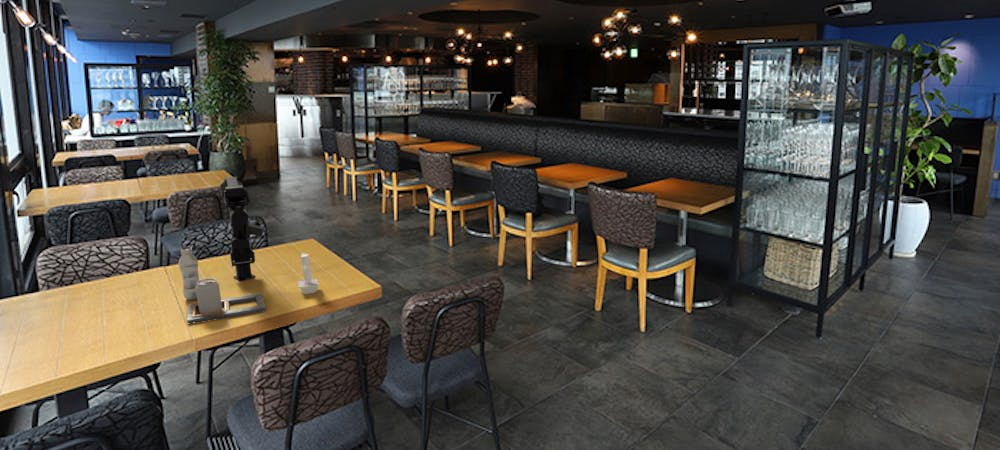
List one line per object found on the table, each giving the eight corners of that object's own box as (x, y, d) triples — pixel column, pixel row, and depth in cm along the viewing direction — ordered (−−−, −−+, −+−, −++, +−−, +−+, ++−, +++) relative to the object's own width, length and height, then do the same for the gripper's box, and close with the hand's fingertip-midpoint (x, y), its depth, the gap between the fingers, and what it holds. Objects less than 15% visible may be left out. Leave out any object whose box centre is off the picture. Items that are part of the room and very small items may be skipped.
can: (211, 318, 209) (206, 286, 206) (194, 315, 212) (189, 283, 208) (227, 309, 216) (223, 278, 213) (211, 306, 218) (206, 276, 215)
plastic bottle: (207, 296, 228) (200, 246, 223) (193, 303, 222) (185, 251, 217) (194, 294, 230) (186, 244, 225) (180, 300, 224) (171, 250, 219)
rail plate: (262, 296, 227) (262, 292, 227) (265, 311, 214) (265, 306, 214) (189, 308, 217) (188, 303, 217) (187, 324, 204) (187, 319, 204)
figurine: (300, 297, 227) (296, 259, 223) (297, 289, 235) (293, 252, 231) (320, 294, 230) (316, 257, 225) (316, 286, 238) (313, 250, 234)
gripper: (261, 222, 222) (266, 262, 226) (261, 211, 238) (265, 248, 243) (228, 226, 218) (234, 266, 222) (230, 214, 234) (235, 252, 239)
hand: (243, 258), depth 231 cm, fingers open, 9 cm apart
